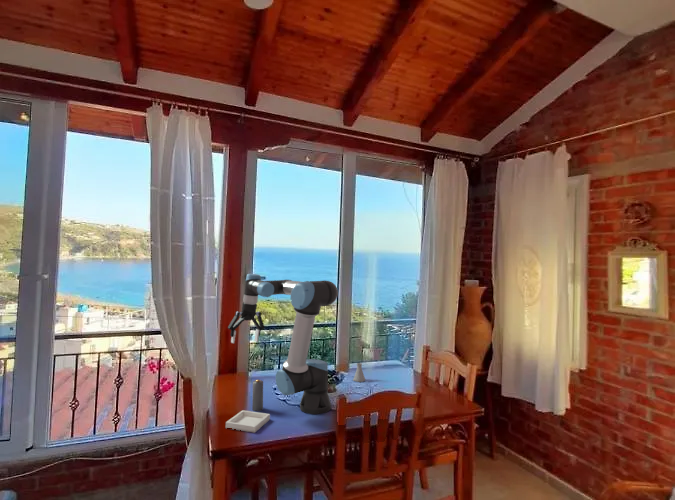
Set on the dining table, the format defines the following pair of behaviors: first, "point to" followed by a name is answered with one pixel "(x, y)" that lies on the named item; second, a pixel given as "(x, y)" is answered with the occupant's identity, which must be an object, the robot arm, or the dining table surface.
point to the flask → (359, 374)
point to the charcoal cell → (257, 395)
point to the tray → (248, 421)
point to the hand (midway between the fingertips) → (244, 342)
